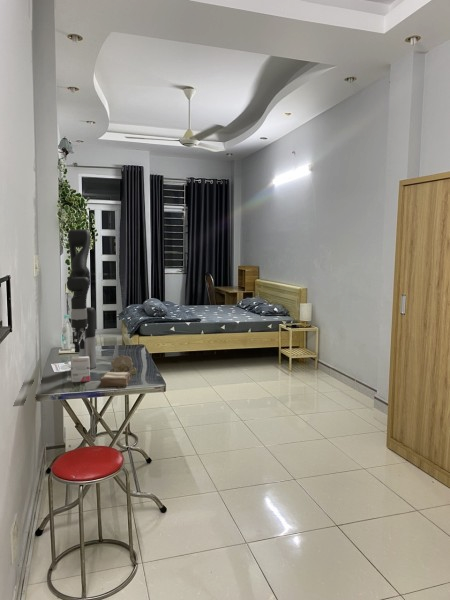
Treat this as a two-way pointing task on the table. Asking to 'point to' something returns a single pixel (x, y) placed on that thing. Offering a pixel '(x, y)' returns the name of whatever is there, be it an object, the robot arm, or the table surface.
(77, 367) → the ink box
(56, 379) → the table surface
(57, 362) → the table surface
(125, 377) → the base
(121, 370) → the ceramic model
